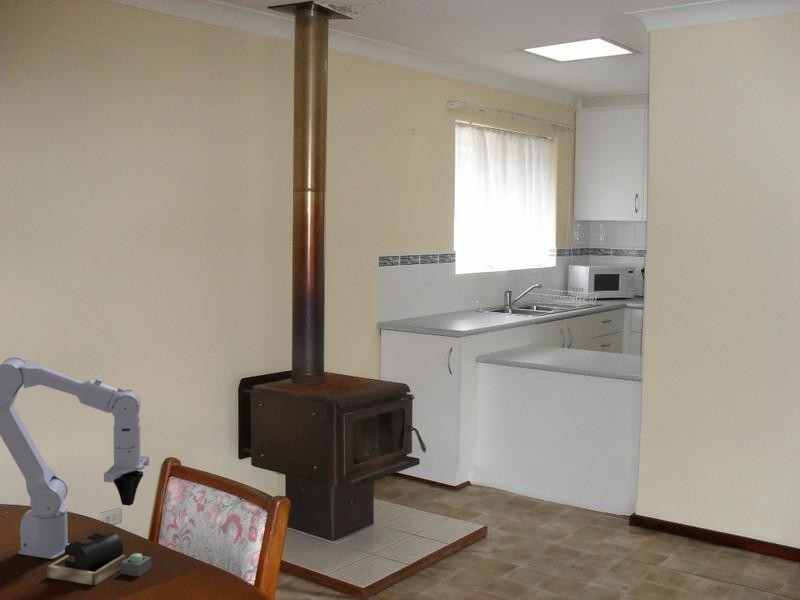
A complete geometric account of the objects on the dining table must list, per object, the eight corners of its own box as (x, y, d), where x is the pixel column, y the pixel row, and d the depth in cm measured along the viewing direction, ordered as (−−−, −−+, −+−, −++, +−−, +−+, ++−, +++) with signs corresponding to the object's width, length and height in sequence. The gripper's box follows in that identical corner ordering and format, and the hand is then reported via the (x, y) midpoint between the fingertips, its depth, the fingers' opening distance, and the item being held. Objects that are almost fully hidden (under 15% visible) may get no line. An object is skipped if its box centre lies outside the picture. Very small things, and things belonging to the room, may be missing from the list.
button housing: (121, 573, 180) (121, 562, 180) (133, 565, 184) (133, 554, 184) (139, 576, 179) (139, 565, 179) (151, 568, 183) (151, 557, 183)
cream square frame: (47, 577, 178) (47, 566, 177) (79, 558, 188) (79, 548, 187) (95, 585, 174) (95, 574, 174) (125, 565, 184) (125, 555, 184)
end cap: (87, 582, 176) (87, 550, 175) (63, 575, 179) (62, 543, 178) (124, 565, 185) (123, 534, 184) (100, 558, 188) (99, 528, 187)
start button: (128, 571, 181) (127, 556, 181) (134, 567, 183) (134, 552, 183) (137, 572, 180) (137, 558, 180) (144, 568, 183) (144, 554, 182)
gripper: (123, 455, 185) (123, 516, 186) (160, 439, 198) (160, 496, 200) (95, 452, 187) (96, 513, 188) (134, 436, 200) (134, 493, 202)
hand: (127, 504), depth 194 cm, fingers closed
